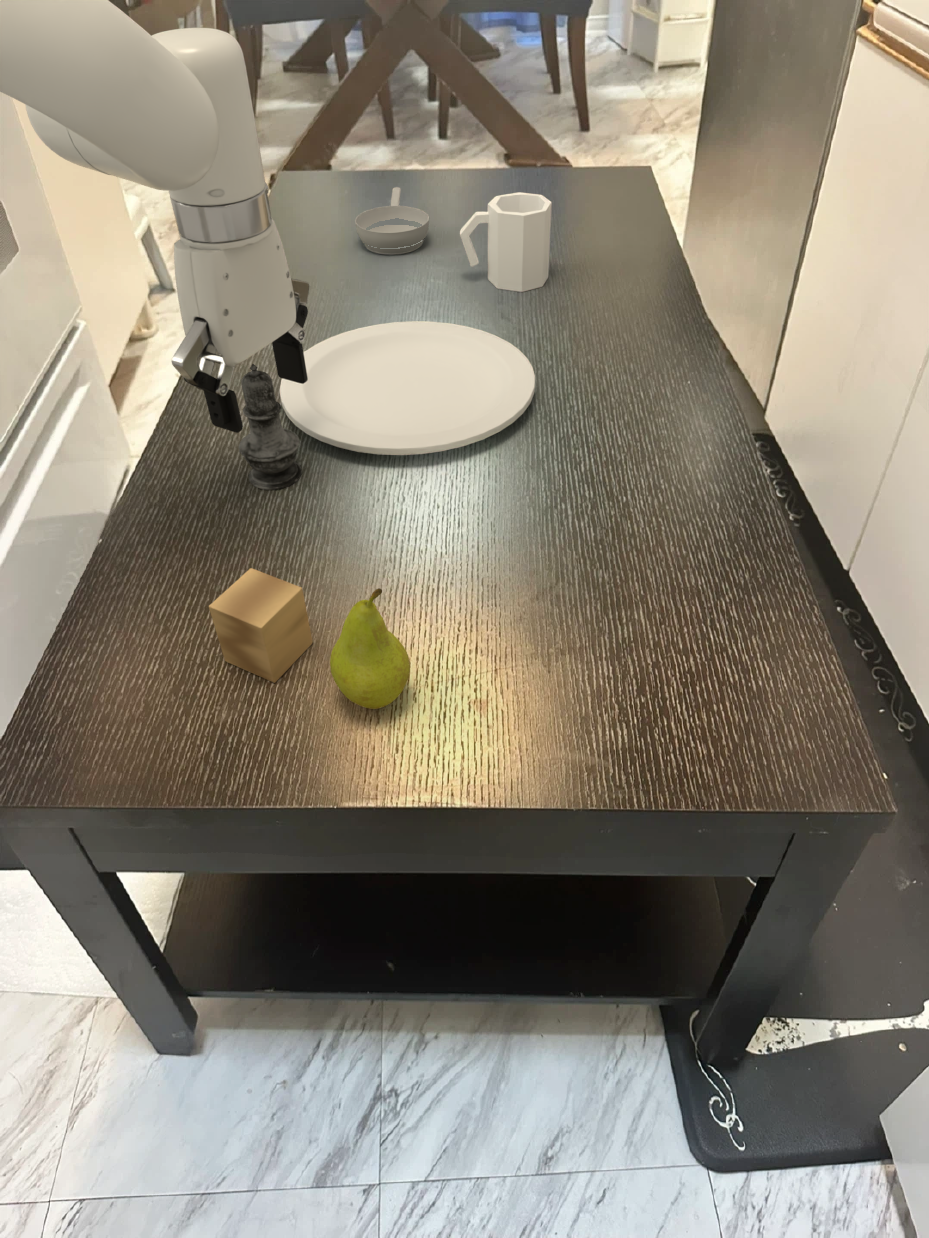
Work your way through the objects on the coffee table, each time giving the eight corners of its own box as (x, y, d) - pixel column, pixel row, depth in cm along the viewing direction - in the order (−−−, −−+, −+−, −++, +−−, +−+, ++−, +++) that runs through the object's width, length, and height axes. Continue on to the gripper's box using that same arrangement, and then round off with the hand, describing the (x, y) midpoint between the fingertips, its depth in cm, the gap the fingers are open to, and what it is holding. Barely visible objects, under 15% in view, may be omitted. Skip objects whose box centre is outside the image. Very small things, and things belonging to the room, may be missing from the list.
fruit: (343, 666, 69) (323, 547, 61) (417, 671, 69) (407, 551, 61) (328, 723, 65) (304, 604, 57) (406, 728, 65) (394, 609, 56)
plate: (417, 318, 113) (416, 300, 112) (586, 395, 99) (588, 376, 97) (233, 399, 99) (228, 380, 98) (397, 503, 85) (395, 482, 83)
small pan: (354, 258, 128) (351, 231, 125) (364, 213, 141) (362, 187, 138) (429, 257, 127) (427, 229, 125) (432, 212, 140) (431, 186, 138)
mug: (545, 265, 124) (548, 191, 118) (551, 291, 118) (554, 215, 111) (460, 267, 124) (458, 194, 118) (461, 293, 118) (459, 217, 111)
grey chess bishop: (274, 498, 86) (251, 386, 77) (233, 478, 88) (206, 367, 80) (317, 470, 89) (299, 360, 81) (276, 451, 92) (254, 343, 83)
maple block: (224, 661, 70) (208, 606, 66) (264, 622, 73) (250, 567, 69) (274, 683, 68) (260, 628, 64) (313, 642, 71) (302, 587, 67)
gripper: (254, 175, 78) (286, 355, 90) (110, 244, 67) (167, 438, 79) (324, 187, 75) (347, 371, 87) (185, 261, 64) (233, 459, 76)
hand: (261, 403), depth 83 cm, fingers open, 9 cm apart
